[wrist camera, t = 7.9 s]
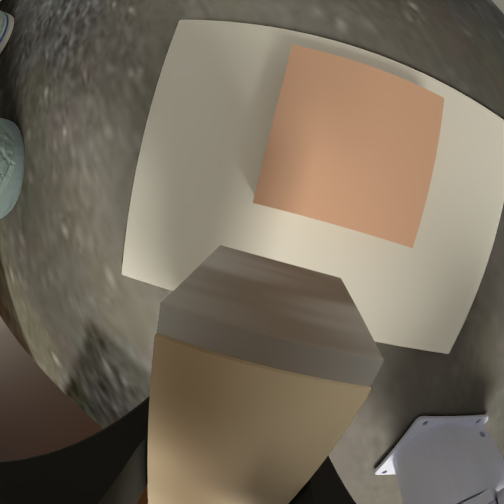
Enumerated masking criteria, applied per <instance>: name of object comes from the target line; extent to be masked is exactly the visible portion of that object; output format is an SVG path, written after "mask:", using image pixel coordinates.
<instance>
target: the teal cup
mask: <svg viewBox="0 0 504 504" xmlns="http://www.w3.org/2000/svg"><path fill="white" fill-rule="evenodd" d="M24 168H25V150H24V143H23V138H22V135H21V132H20V130H19V128H18V126H17V125H16V124H15V123H14V122H12V121H10V120H8V119H3V118H0V218H2V217H4V216H5V215H7V214H8V213H9V212H10V211H11V210H12V209H13V207H14V205H15V203H16V202H17V199H18V197H19V194H20V191H21V187H22V182H23V176H24Z"/></svg>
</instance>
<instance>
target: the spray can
mask: <svg viewBox="0 0 504 504" xmlns="http://www.w3.org/2000/svg"><path fill="white" fill-rule="evenodd" d="M13 27H14V18H13V16H11V15H10V14H8V13H5V12H3V11H0V54H1V52H2V50H3V49H4V47H5V45H6V44H7V42H8V40H9V37H10V35H11V33H12V30H13Z"/></svg>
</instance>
